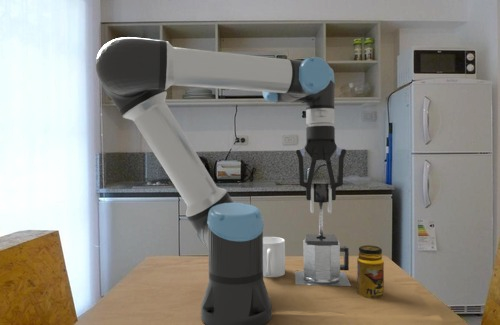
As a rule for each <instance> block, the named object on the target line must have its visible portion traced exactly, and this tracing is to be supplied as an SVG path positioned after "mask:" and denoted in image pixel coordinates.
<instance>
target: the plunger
mask: <svg viewBox="0 0 500 325" xmlns="http://www.w3.org/2000/svg"><path fill="white" fill-rule="evenodd" d="M312 188H313V189H314V203H318V224H319V225H318V229H319V231H318V234H319V239H323V234H324V209H323V208H324V203H328V188H329V182H312Z"/></svg>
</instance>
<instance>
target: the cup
mask: <svg viewBox="0 0 500 325" xmlns="http://www.w3.org/2000/svg"><path fill="white" fill-rule="evenodd" d="M285 241H286V240H285V239H284V238H282V237H278V236H263V278H278V277H282V276H285V274H286V247H285V246H286V244H285V243H286V242H285Z"/></svg>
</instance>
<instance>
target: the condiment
mask: <svg viewBox="0 0 500 325" xmlns="http://www.w3.org/2000/svg"><path fill="white" fill-rule="evenodd" d="M382 252H383V250H382V248H381V247H379V246H376V245H369V244H367V245H361V246H359V247H358V258H357V260H356V262H357V263H356V264H357V266H356V268H357V269H356V270H357V277H356V278H357V279H356V280H357V284H356V285H357V292H356V293H357V294H358V295H359V296H361V297H362V298H363V297H364V298H367V299H381V298H383V297H384V295H385V294H384V293H385V286H384V284H385V280H384V279H385V277H384V276H385V275H384V270H385V269H384V267H385V266H384V265H385V262H384V259H383V253H382Z"/></svg>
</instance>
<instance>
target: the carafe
mask: <svg viewBox="0 0 500 325" xmlns="http://www.w3.org/2000/svg"><path fill="white" fill-rule="evenodd" d="M302 242H303V246H302V247H303V248H302V249H303V271H304V279H305V280H306V281H308V282H311V283H315V284H333V283H336V282H338V281H339V280H340V272H341V271H349V269H350V267H349V263H350V261H349V260H350V259H349V256H350V255H349V247H348V246H346V245H345V246H341V243H340V241H339V240H338V238H337V237H336V235H335V234H324V233H323V239H319V233H318V234H317V233H316V234H315V233H314V234H313V233H311V234H310V233H308V234H307V233H306V234H305V238H304V239H303V241H302ZM341 253H343V264H341Z"/></svg>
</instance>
